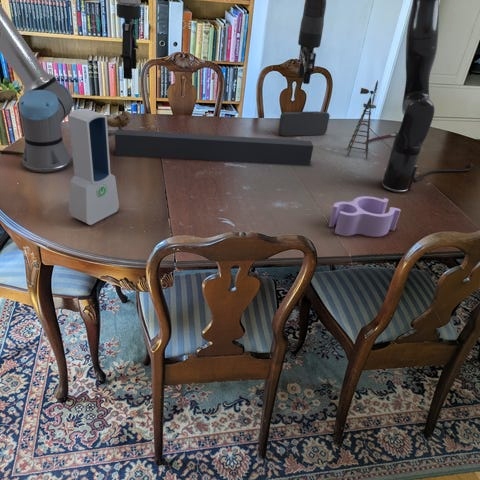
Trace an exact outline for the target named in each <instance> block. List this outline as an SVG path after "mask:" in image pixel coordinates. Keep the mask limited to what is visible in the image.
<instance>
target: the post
mask: <svg viewBox="0 0 480 480" xmlns="http://www.w3.org/2000/svg"><path fill="white" fill-rule="evenodd" d="M114 148H115V156H121V157H122V156H123V157H141V158H158V159H159V158H162V159H175V160H196V161H212V162H213V161H216V162H234V163H253V164H270V165H271V164H272V165H288V166H289V165H292V166H311V162H312V156H313V152H314V151H313V149H314V144H313V143H312V141H311V140H301V139H300V140H299V139H284V138H283V139H282V138H268V137H267V138H266V137H254V136H253V137H249V136H235V135H233V136H232V135H231V136H230V135H218V134H201V133H182V132H168V131H167V132H166V131H151V130H134V129H123V130H119V129H118V128H117V129H116V130H115V133H114Z"/></svg>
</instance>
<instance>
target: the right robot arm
mask: <svg viewBox="0 0 480 480" xmlns="http://www.w3.org/2000/svg"><path fill="white" fill-rule="evenodd" d="M439 3H440V1H439V0H412V5H411V8H410V14H409V17H408V22H407V28H406V36H405V85H404V86H405V87H404V93H403V99H402V104H401V111H402V114H403V117H402V120H401V124H400V127H399V130H398V131H397V132H395V133H396V136H395V137H394V140H393V144H392V147H391V151H390V155H389V158H388V161H387V164H386V168H385V171H384V173H383V178H382V181H381V186H382V187H383V188H384V189H385V190H387V191H390V192H392V193H397V194H399V193H400V194H402V193H407V192H408V191H410V190H411V188H412V185H413V182H418V181H419V180H420V179H422V178H423V177H425V176H427V175H429V174H432V173H450V172H451V173H452V172H453V173H455V172H457V173H458V172H459V173H460V172H461V173H463V172H468V171H470V170H471V169H472V168H470V169H468V168H465V169H466V170H456V169H433V170H429V171H426V172H424V173H422V174H421V175H419V176H418V177H415V176H416V173H417V169H418V165H417V161H418V159H419V155H420V152H421V149H422V147H423V143H424V141H425V140H426V138H427V136H428V133H429V131H430V128H431V125H432V122H433V119H434V116H435V105H434V103H433V102H432V100H431V99H430V76H431V71H432V68H433V65H434V62H435V60H436V55H437V51H438V42H439V24H440V23H439V22H440V5H439ZM326 9H327V0H304V4H303V11H302V12H303V13H302V18H301V21H300V26H299V33H298V42H297V44H298V46H300V49H299V54H298V60H297V62H298V66H299V67H298V73H297V76H298V78H301V79H302V84H304V85H309V84H310V82H311V75H312V73H314V70H315V64H316V57H317V53H315V52H314V49H316V48H317V49H318V48H320V47H321V43H322V38H323V31H324V25H325V14H326ZM472 163H473V162H471V163H470V164H471V166H472V167H473V166H474V164H472Z"/></svg>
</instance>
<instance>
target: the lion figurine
mask: <svg viewBox="0 0 480 480" xmlns="http://www.w3.org/2000/svg"><path fill="white" fill-rule="evenodd" d="M131 120H132V116H131V112H130V111H128V110H124V111H122V112H121V113H120V114H118V115H117V116H115V117H109V116H107V126H108V127H110V128H117V129H119V130H124V128H126V127H128V125H129V124H130V123H131Z"/></svg>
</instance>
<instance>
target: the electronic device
mask: <svg viewBox="0 0 480 480" xmlns="http://www.w3.org/2000/svg"><path fill="white" fill-rule="evenodd" d="M107 117H108V116H107V115H106V114H102V113H99V112H97V111H94V110H92V109H87V108H78V109H75V110H73V111H70V113H69V115H68V116H67V118H68V128H69V135H70V136H69V137H70V145H71V154H72V155H71V156H72V164H73V172H74V175H73V176H72V178H71V180H70V181H69V184H70V185H69V196H68V197H69V199H68V211H69V213H70V216H71V217H73V218H74V219H76V220H78V221H81V222H83V223H84V224H87V225H89V226H92V225H94V224H96V223H98V222H99V221H102V220H103V219H105V218H107V217H109V216H111V215H113V214H115V213H117V212H118V210H119V208H120V202H119V195H118V188H117V181H116V175H114V174H112V173H111V161H110V145H109V143H110V142H109V130H108V127H109V126H108V125H107Z"/></svg>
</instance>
